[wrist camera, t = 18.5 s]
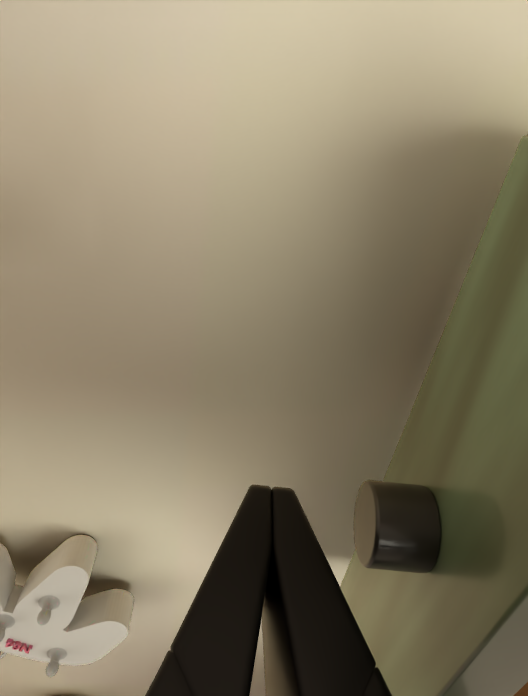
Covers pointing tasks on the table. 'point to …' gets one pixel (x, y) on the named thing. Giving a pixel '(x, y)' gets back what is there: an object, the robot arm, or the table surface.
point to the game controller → (61, 609)
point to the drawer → (458, 491)
